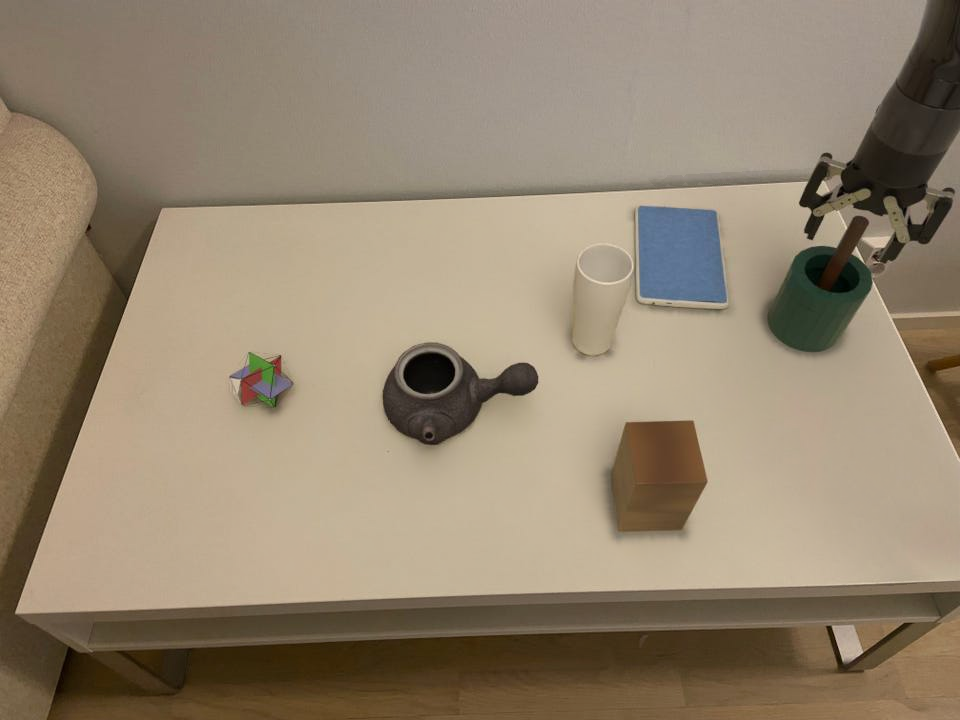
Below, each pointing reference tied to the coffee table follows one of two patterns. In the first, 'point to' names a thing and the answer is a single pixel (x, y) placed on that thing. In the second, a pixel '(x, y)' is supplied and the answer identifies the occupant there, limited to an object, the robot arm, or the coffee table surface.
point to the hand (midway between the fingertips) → (846, 246)
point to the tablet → (680, 258)
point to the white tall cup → (599, 296)
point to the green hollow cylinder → (817, 301)
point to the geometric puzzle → (259, 380)
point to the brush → (843, 252)
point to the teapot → (444, 391)
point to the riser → (657, 475)
